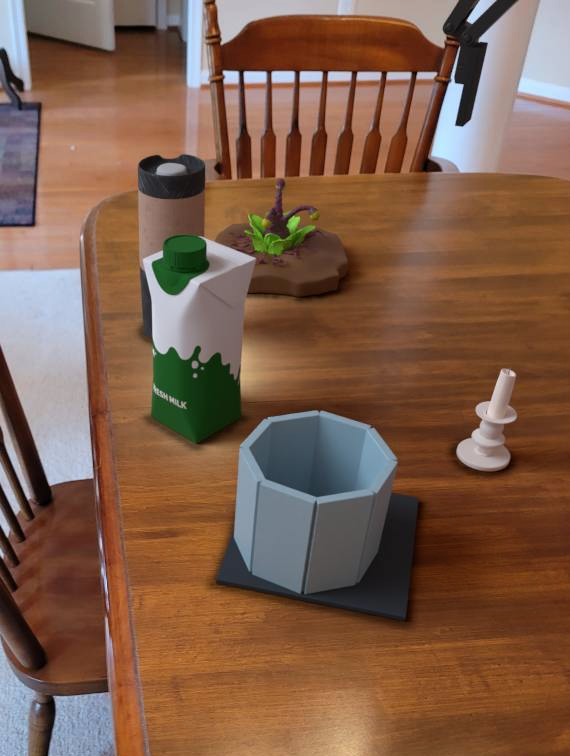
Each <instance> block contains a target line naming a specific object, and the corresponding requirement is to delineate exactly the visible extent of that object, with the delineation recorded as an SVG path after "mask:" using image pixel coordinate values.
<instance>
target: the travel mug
mask: <svg viewBox="0 0 570 756" xmlns="http://www.w3.org/2000/svg"><path fill="white" fill-rule="evenodd" d="M137 193H138V194H137V197H138V198H137V202H138V203H137V204H138V253H139V254H138V255H139V262H138V263H139V277H140V278H139V280H140V293H141V294H140V297H141V313H142V327H143V332H144V334H145V335H146V336H147V338H149V339H151V340H153V334H152V300H151V294H150V290H149V285H148V281H147V277H146V272H145V268H144V263H143V259H144V258H146V257H148V256H151V255H153V254H155V253H158V252H160V251H162V250H163V242H164V241H165V240H166V239H167V238H169V237H171V236H175V235H194V236H198V237H199V236H201V237H204V238H205V223H206V222H205V220H206V219H205V217H206V216H205V215H206V213H205V212H206V163H205V161H203V159H201V158H200V157H198V156H195V155H192V154H187V153H181V154H179V155H178V156H177V157H174V158H166V157H163V156H161V154H151V155H149V156H146V157H144V158H142V159H141V160H140V161H139V162H138V163H137Z"/></svg>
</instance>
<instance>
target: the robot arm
mask: <svg viewBox="0 0 570 756" xmlns="http://www.w3.org/2000/svg"><path fill="white" fill-rule="evenodd" d="M480 1H481V0H458V1H457V3H456V4H455V6H454V7H453V9H451V12H450V13H449V15H448V17H447V18H446V20H445V22H444V23H443V24H442V31H443V34H444V35H446V36H451V37H452V38H455V39H456V40H457V41H458V43H459V51H458V56H457V61H456V65H455V71H454V74H453V75H454V76H453V80H454V84H456V85H462V90H461V94H460V99H459V104H458V109H457V113H456V118H455V124H454V126H455V127H460V128H462V127H465V125H467V124H468V123H469V122H470V121H471V120H472V117H473V112H474V108H475V103H476V98H477V94H478V91H479V90H478V89H479V85H480V81H481V76H482V72H483V67H484V64H485V63H484V62H485V58H486V54H487V49H488V45H489V42H487V41H480V38H481V37H483V36H484V35H485V34H486V33H487V31H489V30H490V29H491V28H492V27H493V26H494V25H495V24H496V23H497V22H498V21H499V20H500V19H502V17H504V15H505V14H506V13H507V12H508V11H509V10H511V9H512V7H514V6H515V5H516V4H517V3H518V2H519V1H520V0H495V1H493V3H492V4H491V5H490V6H489V7H488V8H487V9H486V10H484V12H483V13H482V14H481V15H480V16H479V17H478V18H476V19H475V21H474V22H473V23H471V22H469V21H467V20H468V19H469V17H470V16H471V15H472V13H473V12H474V10H475V9H476V7H477V5H478V4H479V3H480Z"/></svg>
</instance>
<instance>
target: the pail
mask: <svg viewBox="0 0 570 756" xmlns="http://www.w3.org/2000/svg"><path fill="white" fill-rule="evenodd" d="M238 452H239V453H238V469H237V482H236V483H237V484H236V498H235V499H236V500H235V512H234V527H233V529H234V539H235V541H236V543H237V546H238V548H239V550H240V552H241V554H242V557H243V559H244V561H245V563H246V566H247V568H248V570H249V572H252V575H255V576H257V577H260V578H262V579H265V580H267V581H270V582H272V583H275V584H277V585H280V586H282V587H285V588H287V589H289V590H292V591H294V592H297V593H299V594H301V593H302V591H303V592H304V594H310V593H315V592H320V591H326V590H331V589H336V588H342V587H347V586H353V585H356V582H357V583H359V582H360V580H361V578H362V577H363V575H364V573H365V572H366V570H367V569H368V567H369V565H370V564H371V562H372V560H373V559H374V557H375V555H376V554H377V552H378V549H379V544H380V540H381V535H382V531H383V527H384V522H385V518H386V513H387V509H388V505H389V500H390V496H391V493H392V490H393V488H394V487H393V486H394V482H395V478H396V473H397V469H398V464H399V462H398V458H397V456H396V455H395V453H394V452H393V451H392V449H391V448H390V446H389V445H388V444H387V443H386V441H385V440H384V439H383V438H382V436H381V435H380V433H379V432H378V430H377V429H376V428H375V427H372V425H370V424H367V423H364V422H360V421H357V420H354V419H351V418H348V417H344V416H341V415H338V414H334V413H331V412H328V411H325V410H320V412H319V410H317V409H316V410H309V411H303V412H295V413H289V414H282V415H274V416H269V417H267V418H264V419H263V420H262V421H261V422H260V423H259V424H258V425H257V426H256V427H255V429H253V431H252V432H251V433H250V434H249V435H248V436H247V437H246V438H245V440H243V442H242V443H241V444H240V445H239V451H238Z"/></svg>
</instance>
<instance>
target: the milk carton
mask: <svg viewBox="0 0 570 756" xmlns="http://www.w3.org/2000/svg"><path fill="white" fill-rule="evenodd" d="M255 262H256V258H254V257H252V256H249V255H247V254H244V253H242V252H239V251H237V250H234V249H231V248H229V247H226V246H224V245H221V244H219V243H216V242H215V240H214V241H213V240H211V239H209V238H206V237H205V236H204V237H201V236H199V237H198V236H194V235H175V236H171V237H169V238H167V239H166V240H165V241H164V242H163V250H162V251H160V252H158V253H155V254H153V255H151V256H148V257H146V258H144V259H143V263H144V268H145V272H146V277H147V281H148V285H149V290H150V294H151V300H152V334H153V339H152V386H151V387H152V389H151V407H150V418H151V419H153V420H155V421H157V422H158V423H160V424H162V425H163V426H166V427H167V428H168V429H170V430H172V431H174V432H175V433H177V434H179V435H181V436H182V437H184V438H186V439H187V440H189V441H191V442H193V443H195V444H199V443H200V442H202V441H204V440H205V439H207V438H209V437H210V436H212V435H214V434H215V433H217V432H219V431H220V430H222V429H224V428H225V427H227V426H229V425H230V424H232V423H234V422H235V421H237V420H239V419H241V418H243V416H242V415H243V414H242V388H241V371H242V370H241V369H242V355H243V354H242V353H243V336H244V325H245V324H244V323H245V322H244V321H245V307H246V299H247V297H248V293H247V292H248V288H249V285H250V281H251V277H252V273H253V270H254V266H255Z"/></svg>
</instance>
